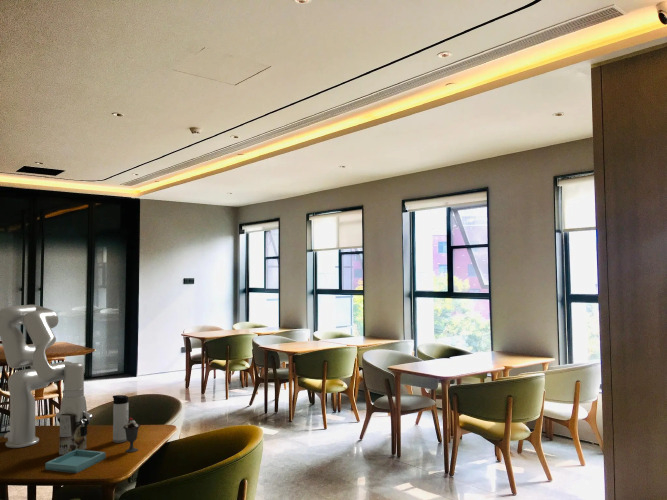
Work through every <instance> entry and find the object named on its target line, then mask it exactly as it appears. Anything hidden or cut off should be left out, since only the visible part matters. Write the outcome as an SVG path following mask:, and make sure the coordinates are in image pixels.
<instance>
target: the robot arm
mask: <svg viewBox="0 0 667 500" xmlns="http://www.w3.org/2000/svg"><path fill="white" fill-rule="evenodd" d="M58 324H59V317H58V313H56V312H55V311H54V310H52V309H50V308H47V307H44V306H41V305H36V304H23V305H10V306H5V307H2V308H1V309H0V339H1V344H2V348H3V351H4V355H5V361H6V363H7V366H8V367H10V368H11V369H20V368H25V367H29V368H27V369H21V370H17V371H14V372H13V373H11V375H10V376H9V377H8V380H7V386H8V387H7V388H8V392H9V400H10V401H9V403H10V404H9V407H10V408H9V409H10V410H9V411H10V415H9V417H10V418H9V419H10V420H9V431H8V432H6V434H4V435H3V437H4V439H7V441H6V442H5V447H6V448H11V449H17V448H18V449H19V448H25V447H29V446H33V445H36V444H38V443H39V441H40V438H39V437H38V436H36V399H35V397H34V395H33V394H32V391H36V390H40V389H43V388H46V387H47V386H49V384H50V383H55V382H58V381H63V390H62V394H63V396H62V397H61V401H60V410H59V412H57V413H56V414H55V416H56V419H57V420H56V421H57V422H58V423H59V426H60V415H61V414H74V415H75V422H76V423H77V422H79V423H80V424H81V426H82V427H81V428H80V436H81V437H83V436H85V435H86V436H87V435H88V425H90V423H91V421H92V419H93V415H92V414H91V413H89V412H88V410H87V401H86V396H85V390H84V389H85V387H84V386H85V376H84V375H85V372H84V371H85V370H84V369H85V366H84V364H83V363H82V362H71V361H66V360H65V361H60V362H59V361H58V362H54V363H49V362H48V358H47V355H46V350H47V349H49V348H51V347H52V346H53V345H54V344H55V343H56V341H57V338H56V336H55V333H54V332H53V330H52V329H54V328H56V327H57V326H58ZM17 325H23V326H24V328H25V330H26V332H27V334H28V336H29V337H30V340H31V342H32V343H30V344H27V343H26V341H25V336H24V334H23V332H22V331H21V330H20V329H19V328H18V327H17ZM86 418H87V420H86Z"/></svg>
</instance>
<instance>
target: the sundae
mask: <svg viewBox="0 0 667 500" xmlns="http://www.w3.org/2000/svg"><path fill="white" fill-rule="evenodd" d="M129 415H130V417H128V422H127V425H125V426H124V427H123V428H124V429H125V432H126V439H127V441H128V442H129V443H130V444H129V448H128V449H126V450H124V451H125V453H129V454H130V453H136V452H137V451H138V450H139V449H138V448H135V447H134V442H135V441H136V440H137V439H138V432H139V428H140V427H141V425H140V423H137V422H136V421H135V419H133V415H132V413H129ZM127 441H126V442H127Z"/></svg>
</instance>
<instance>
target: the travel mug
mask: <svg viewBox="0 0 667 500" xmlns="http://www.w3.org/2000/svg"><path fill="white" fill-rule="evenodd" d="M112 398H113V405H112V406H113V410H112V411H113V412H112V415H113V416H112V422H113V423H112V442H113V443H116V444H120V443H121V444H122V443H125V442H127V439H126V432H125V429H124V428H123V427H124V426H125V425H127V422H128V421H129V395H128V396H127V395H124V394H121V395H120V394H118V395H117V394H116V395H112Z"/></svg>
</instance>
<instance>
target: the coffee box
mask: <svg viewBox="0 0 667 500" xmlns="http://www.w3.org/2000/svg"><path fill="white" fill-rule="evenodd" d="M86 420H87V418H86ZM81 427H82V426H81V424H80V423H79V422H77V423H76V422H75V415H74V414H61V415H60V425H59V441H58V442H59V443H58V445H59V449H58V450H59V451H58V455H61V456H62V455H65V454H67V453H69V452H71V451H74V450H76V449H77V450H86V449H87V435H85V436H83V437H81V436H80V428H81Z"/></svg>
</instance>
